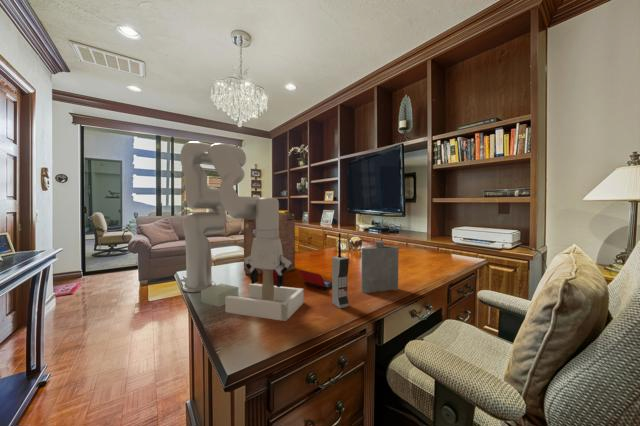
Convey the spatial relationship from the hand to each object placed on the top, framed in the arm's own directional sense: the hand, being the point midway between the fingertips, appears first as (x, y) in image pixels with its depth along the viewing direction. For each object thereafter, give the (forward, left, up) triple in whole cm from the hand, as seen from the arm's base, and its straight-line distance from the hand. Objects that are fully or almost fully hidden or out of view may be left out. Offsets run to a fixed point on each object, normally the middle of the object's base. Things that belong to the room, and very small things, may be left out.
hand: (267, 284), depth 87 cm
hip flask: (+35, +29, -8) cm, 46 cm away
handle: (0, 0, -8) cm, 8 cm away
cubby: (0, 0, -8) cm, 8 cm away
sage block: (-20, +1, -8) cm, 21 cm away
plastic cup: (-13, +25, -8) cm, 29 cm away
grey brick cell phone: (+23, +9, -8) cm, 26 cm away
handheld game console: (+10, +26, -8) cm, 29 cm away
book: (-23, +43, -8) cm, 49 cm away
